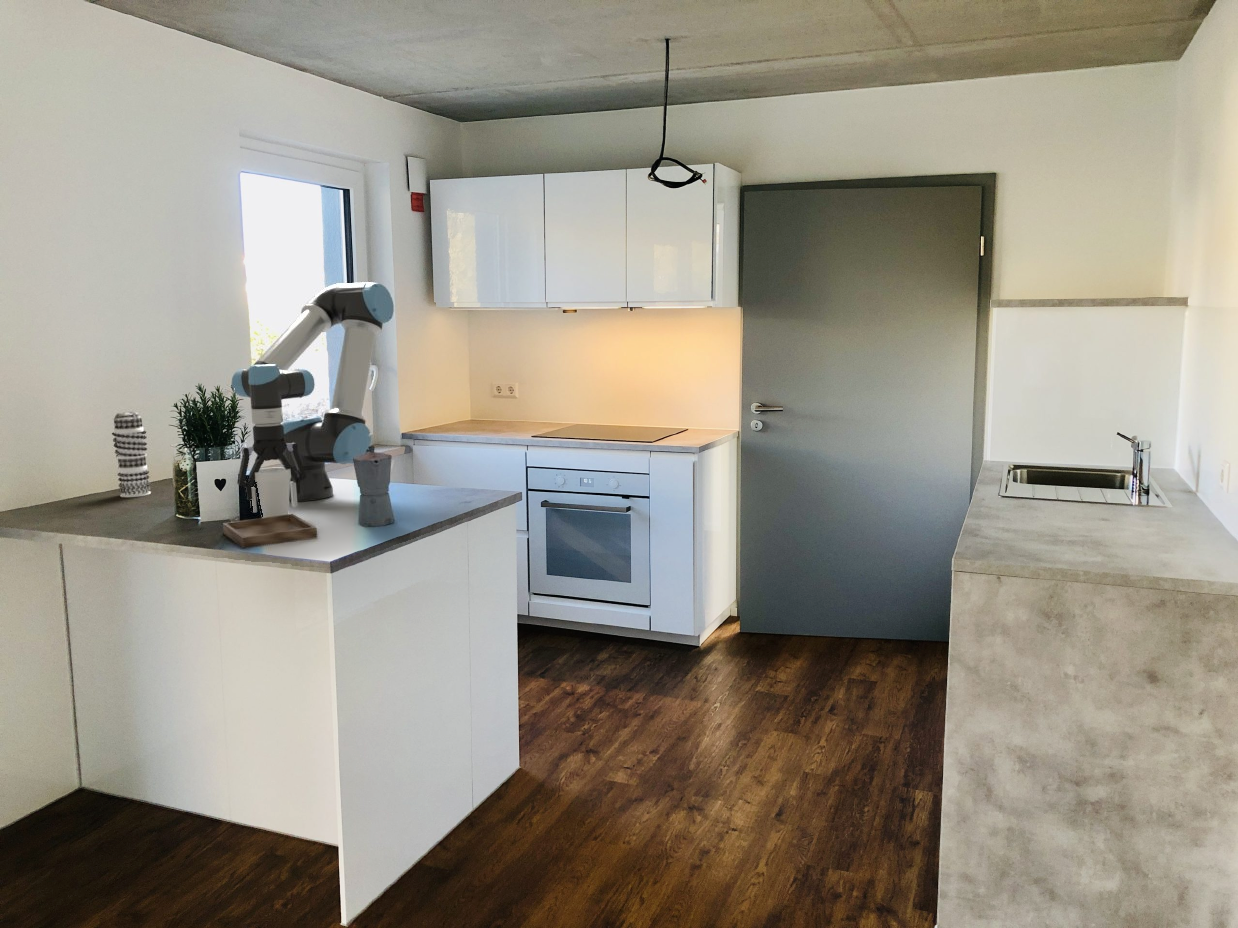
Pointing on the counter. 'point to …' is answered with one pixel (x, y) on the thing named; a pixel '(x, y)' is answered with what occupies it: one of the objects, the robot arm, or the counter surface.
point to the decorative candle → (131, 454)
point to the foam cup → (273, 490)
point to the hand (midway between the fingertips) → (274, 508)
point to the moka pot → (374, 488)
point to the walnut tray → (269, 530)
